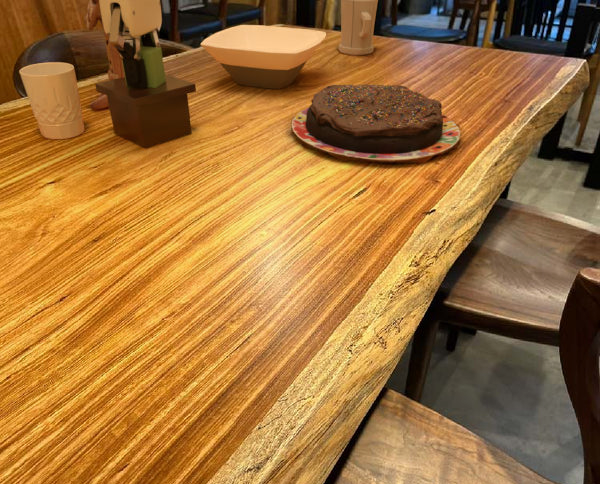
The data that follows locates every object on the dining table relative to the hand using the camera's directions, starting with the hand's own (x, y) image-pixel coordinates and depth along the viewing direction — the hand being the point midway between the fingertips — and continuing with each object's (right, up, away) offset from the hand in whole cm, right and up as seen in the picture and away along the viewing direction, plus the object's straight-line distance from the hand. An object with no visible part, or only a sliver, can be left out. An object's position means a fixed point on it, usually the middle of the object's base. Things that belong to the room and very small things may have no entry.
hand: (145, 80), depth 83 cm
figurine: (-11, +3, +18) cm, 21 cm away
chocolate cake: (+37, -6, +7) cm, 38 cm away
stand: (0, -7, +5) cm, 8 cm away
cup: (+39, +28, +51) cm, 70 cm away
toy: (0, 0, 0) cm, 0 cm away
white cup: (-15, -7, +5) cm, 17 cm away
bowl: (+17, +12, +31) cm, 37 cm away
